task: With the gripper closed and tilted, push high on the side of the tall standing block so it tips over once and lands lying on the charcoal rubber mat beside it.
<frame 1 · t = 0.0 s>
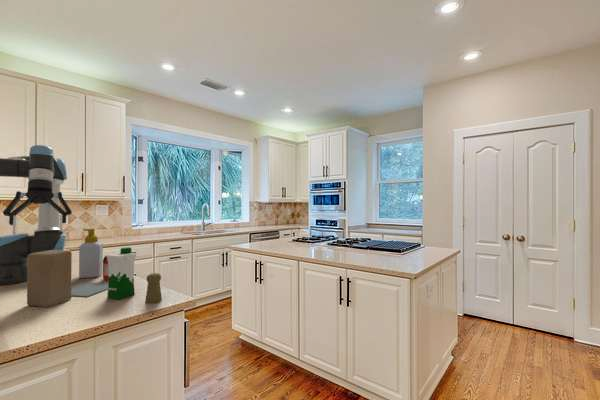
hand: (38, 232, 114), 28 cm above the counter, tool tilted 20°, fingers open, 13 cm apart
olive peg figure: (153, 301, 117), on the counter
milk carton: (121, 297, 123), on the counter
beverage can: (110, 279, 150), on the counter
soap bottle: (91, 276, 155), on the counter
block: (49, 303, 115), on the counter
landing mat: (87, 289, 132), on the counter
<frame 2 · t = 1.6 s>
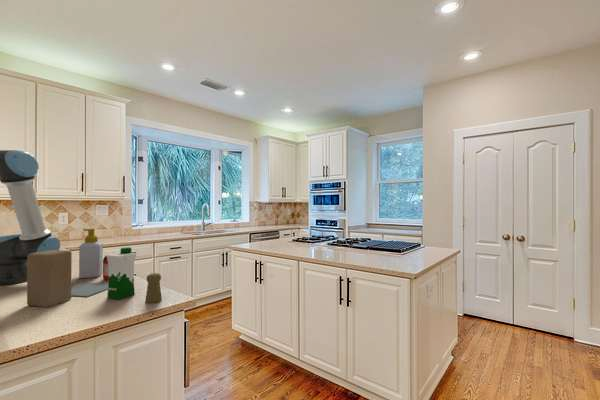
nothing on the counter moved.
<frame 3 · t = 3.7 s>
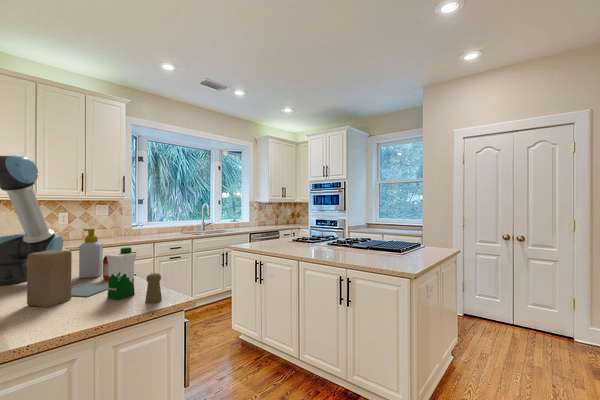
nothing on the counter moved.
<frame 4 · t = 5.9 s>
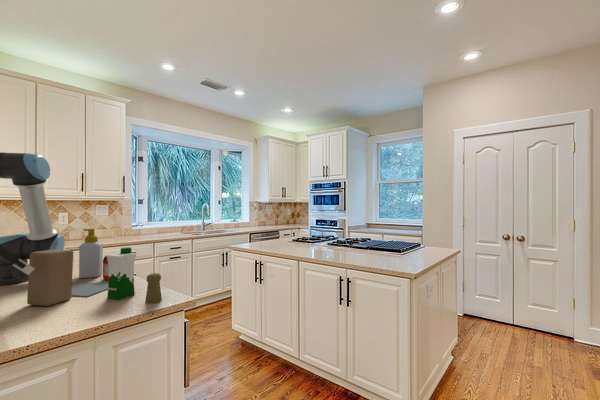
hand: (31, 271, 109), 14 cm above the counter, tool tilted 45°, fingers closed
block: (49, 302, 115), on the counter, touching gripper
everything else where it was.
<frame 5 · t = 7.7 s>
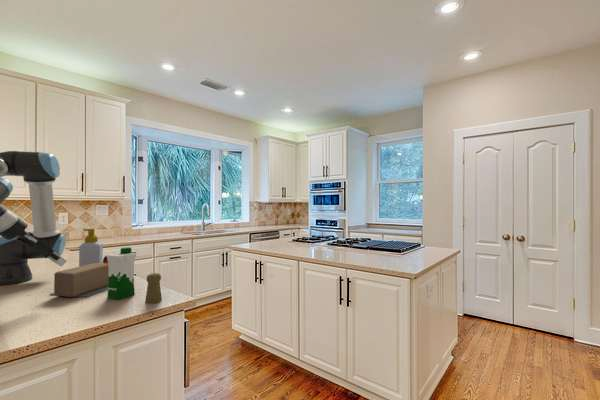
hand: (63, 263, 118), 15 cm above the counter, tool tilted 45°, fingers closed
block: (62, 285, 120), point 5 cm above the counter, touching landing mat
everything else where it was.
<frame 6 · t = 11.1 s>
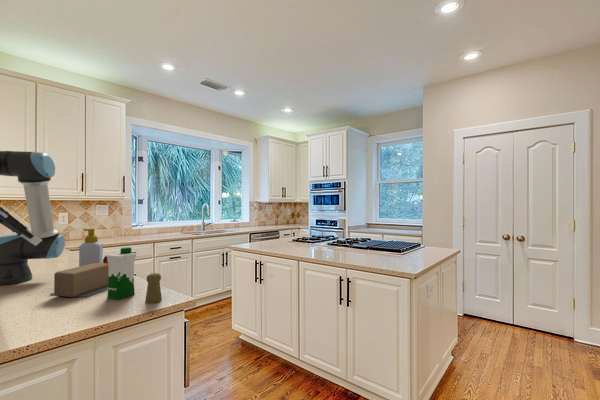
hand: (38, 242, 112), 24 cm above the counter, tool tilted 45°, fingers closed
nothing on the counter moved.
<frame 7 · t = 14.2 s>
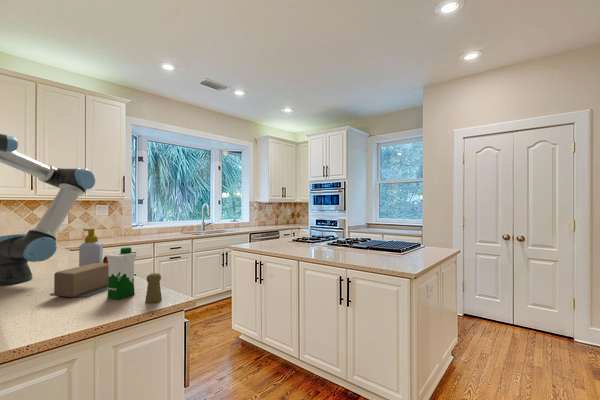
nothing on the counter moved.
at the end: block tilted 90°; block inside the target area on the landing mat (6.1 cm from its centre), point 5.5 cm above the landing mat's base; block touching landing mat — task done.
